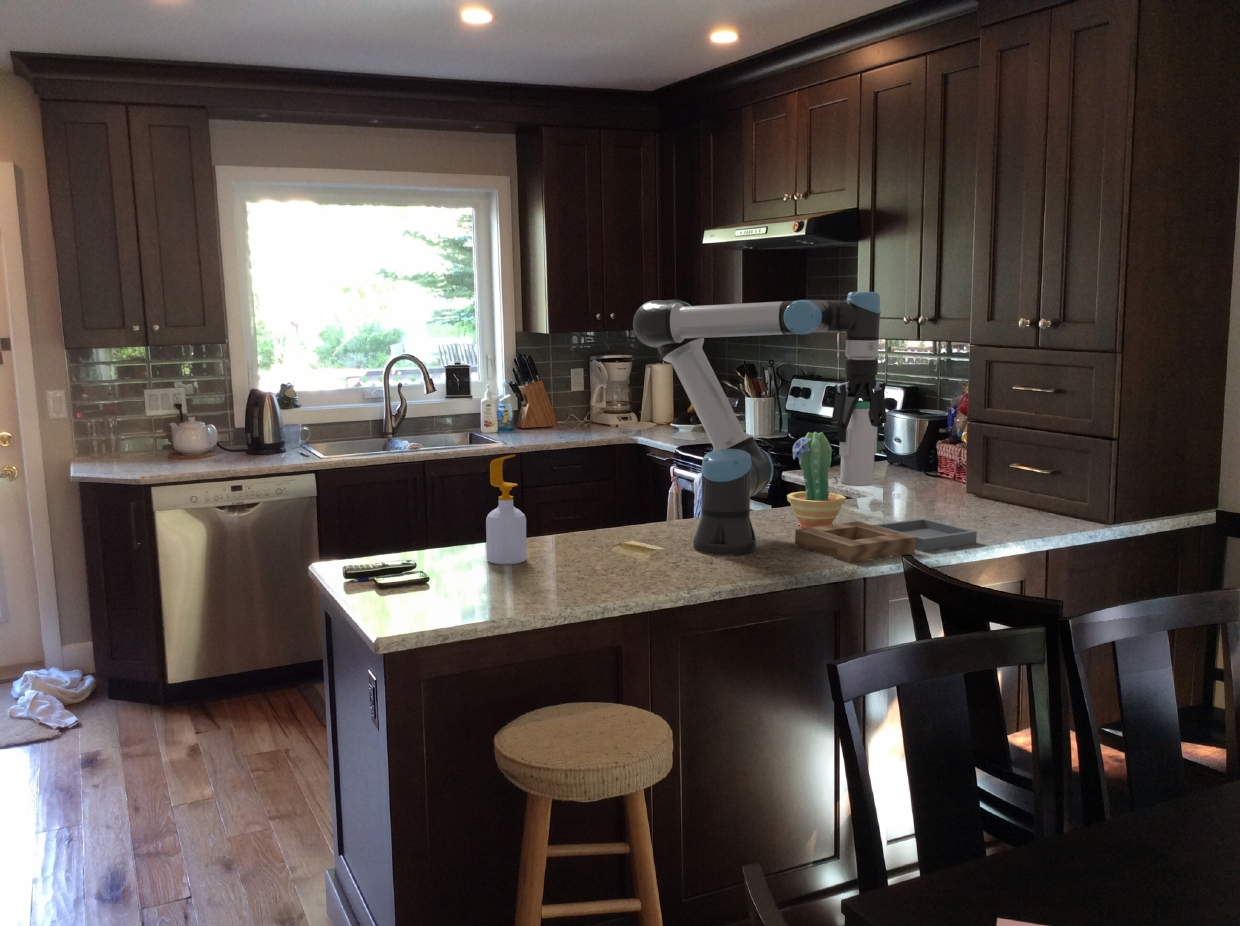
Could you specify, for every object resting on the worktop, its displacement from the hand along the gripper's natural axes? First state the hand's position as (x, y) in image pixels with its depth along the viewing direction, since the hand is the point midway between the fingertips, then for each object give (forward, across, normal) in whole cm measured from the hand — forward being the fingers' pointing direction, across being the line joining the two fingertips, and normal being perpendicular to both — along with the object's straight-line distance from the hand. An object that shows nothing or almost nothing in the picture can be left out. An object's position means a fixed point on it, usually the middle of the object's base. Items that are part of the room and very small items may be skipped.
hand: (857, 454), depth 251 cm
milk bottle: (+7, 0, 0) cm, 7 cm away
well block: (+23, 0, 0) cm, 23 cm away
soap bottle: (+23, -78, +29) cm, 87 cm away
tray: (+23, +22, 0) cm, 32 cm away
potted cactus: (+23, +9, +26) cm, 36 cm away
